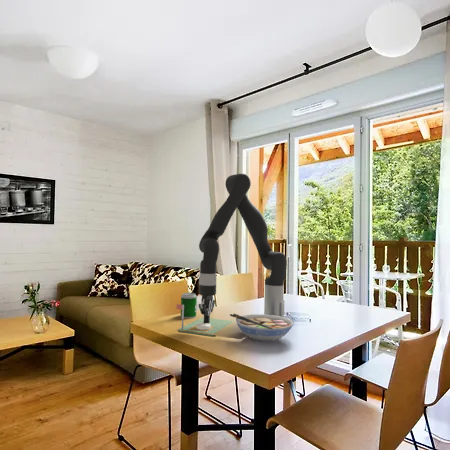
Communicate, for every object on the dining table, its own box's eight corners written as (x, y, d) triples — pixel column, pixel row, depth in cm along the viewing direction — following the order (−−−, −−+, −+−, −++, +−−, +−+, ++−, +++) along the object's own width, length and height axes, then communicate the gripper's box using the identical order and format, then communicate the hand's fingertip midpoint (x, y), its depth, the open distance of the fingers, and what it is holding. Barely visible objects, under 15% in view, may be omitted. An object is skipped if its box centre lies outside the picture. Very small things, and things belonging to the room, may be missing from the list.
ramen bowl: (308, 343, 133) (308, 322, 134) (261, 353, 121) (261, 329, 121) (266, 328, 154) (266, 309, 155) (222, 335, 142) (222, 315, 142)
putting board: (233, 323, 161) (234, 299, 162) (213, 337, 139) (214, 308, 139) (199, 319, 168) (200, 296, 168) (174, 331, 145) (175, 304, 146)
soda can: (193, 321, 164) (194, 295, 165) (178, 319, 166) (179, 294, 166) (198, 317, 172) (198, 293, 172) (183, 316, 173) (184, 292, 174)
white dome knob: (212, 329, 150) (212, 323, 150) (207, 333, 144) (207, 326, 144) (199, 328, 152) (199, 322, 152) (194, 331, 146) (194, 325, 146)
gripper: (209, 286, 145) (208, 328, 145) (221, 282, 158) (220, 321, 157) (193, 284, 148) (192, 326, 147) (206, 281, 160) (205, 319, 160)
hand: (206, 323), depth 152 cm, fingers closed
